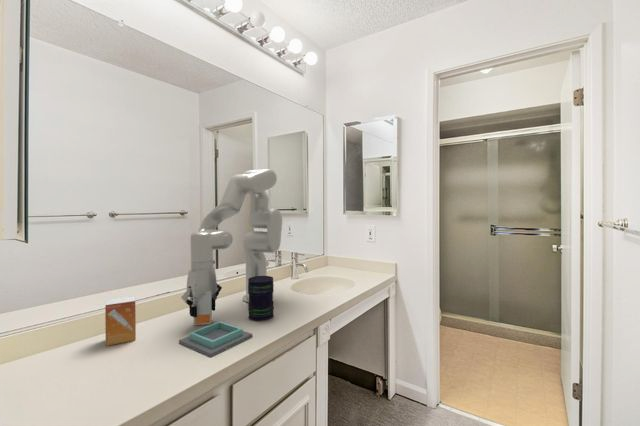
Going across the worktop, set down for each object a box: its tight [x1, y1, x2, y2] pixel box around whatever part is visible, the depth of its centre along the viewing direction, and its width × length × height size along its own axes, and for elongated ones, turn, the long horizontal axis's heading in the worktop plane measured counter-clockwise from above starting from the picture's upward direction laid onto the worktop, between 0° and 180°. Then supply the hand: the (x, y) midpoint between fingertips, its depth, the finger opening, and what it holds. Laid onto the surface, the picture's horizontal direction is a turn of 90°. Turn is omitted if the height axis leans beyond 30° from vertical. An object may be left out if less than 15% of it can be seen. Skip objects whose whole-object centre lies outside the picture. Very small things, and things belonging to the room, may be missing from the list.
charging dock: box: [178, 321, 253, 358], centre depth 97 cm, size 16×16×3 cm
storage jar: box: [247, 275, 275, 322], centre depth 117 cm, size 10×10×15 cm
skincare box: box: [193, 291, 213, 327], centre depth 111 cm, size 6×4×12 cm
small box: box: [104, 295, 137, 347], centre depth 97 cm, size 8×6×13 cm
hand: (202, 312), depth 111 cm, fingers closed on skincare box, 7 cm apart
